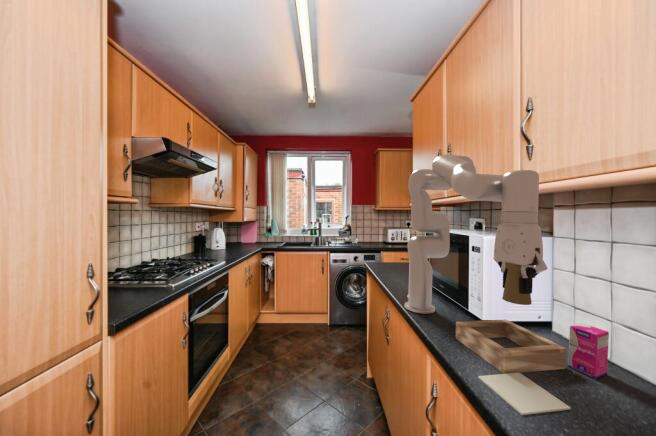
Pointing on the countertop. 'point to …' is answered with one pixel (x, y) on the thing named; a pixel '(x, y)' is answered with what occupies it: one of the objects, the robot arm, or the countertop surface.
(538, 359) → the box
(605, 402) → the countertop surface
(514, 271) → the cork
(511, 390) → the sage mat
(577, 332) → the supplement box
